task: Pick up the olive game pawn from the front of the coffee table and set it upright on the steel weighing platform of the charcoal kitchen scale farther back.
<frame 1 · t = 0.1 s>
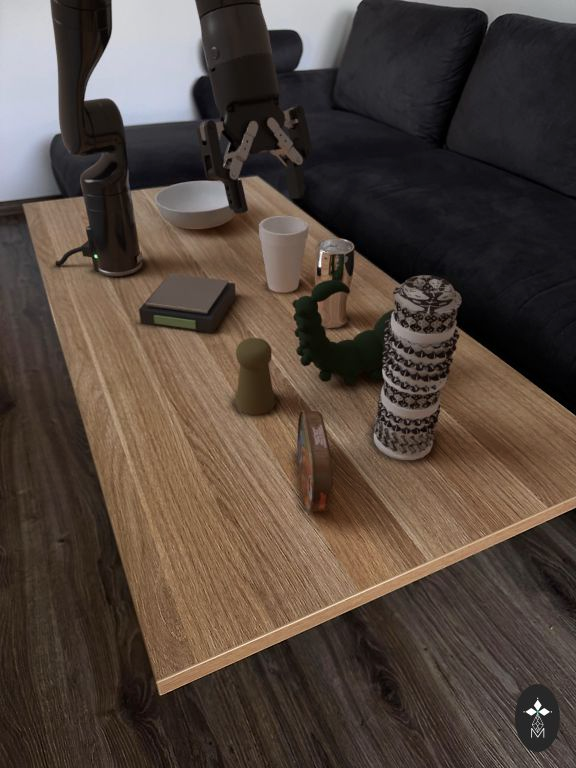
hand: (270, 205, 73), 31 cm above the table, tool tilted 20°, fingers open, 8 cm apart
foam cup: (283, 286, 122), on the table
tin: (312, 482, 79), on the table
scale platform: (188, 293, 112), point 4 cm above the table, slide at 0.0 cm
olive game pawn: (255, 403, 92), on the table
scale: (190, 309, 114), on the table
serving bowl: (200, 222, 148), on the table
white patterned cylinder: (402, 440, 85), on the table
toy figurine: (367, 373, 98), on the table
shiny silver cylinder: (330, 320, 111), on the table
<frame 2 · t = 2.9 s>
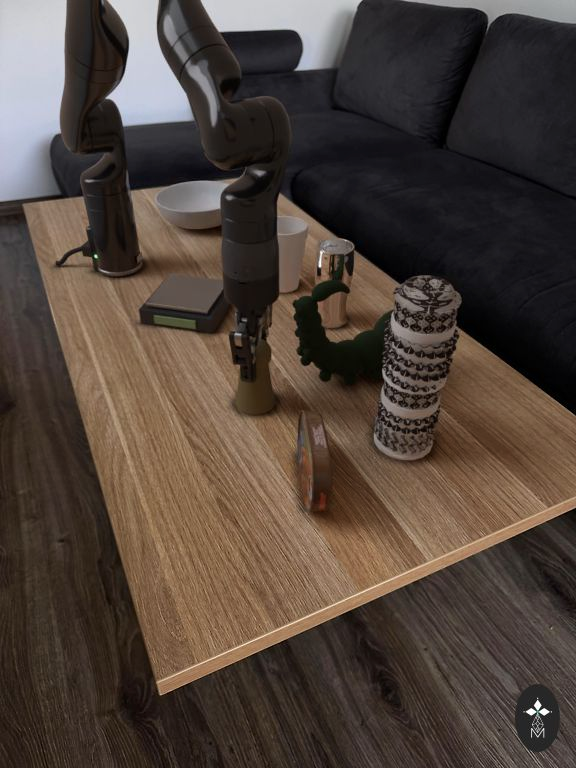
hand: (254, 368, 88), 6 cm above the table, tool pointing down, fingers closed on olive game pawn, 5 cm apart
olive game pawn: (255, 403, 92), on the table, touching gripper
everything else where it was.
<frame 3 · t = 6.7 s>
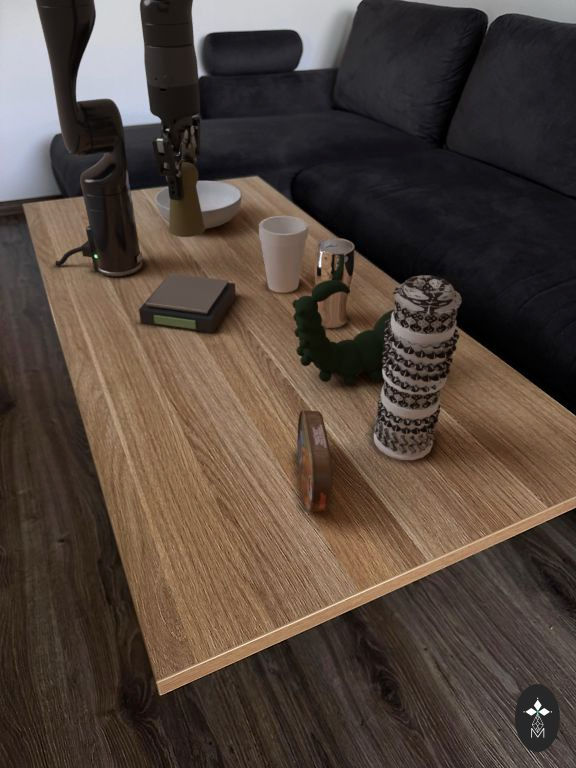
hand: (183, 192, 97), 24 cm above the table, tool pointing down, fingers closed on olive game pawn, 5 cm apart
olive game pawn: (187, 230, 101), point 17 cm above the table, touching gripper
everything else where it was.
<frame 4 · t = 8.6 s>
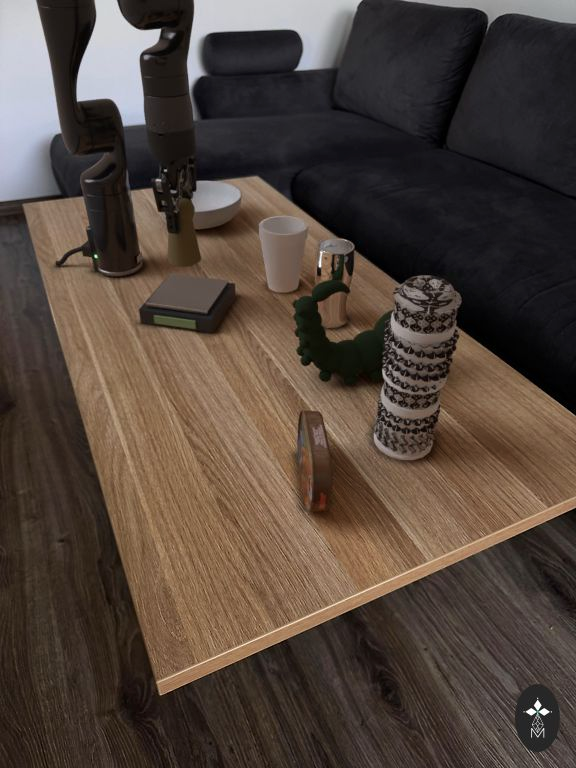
hand: (180, 225, 104), 17 cm above the table, tool pointing down, fingers closed on olive game pawn, 5 cm apart
olive game pawn: (184, 260, 108), point 10 cm above the table, touching gripper
everything else where it was.
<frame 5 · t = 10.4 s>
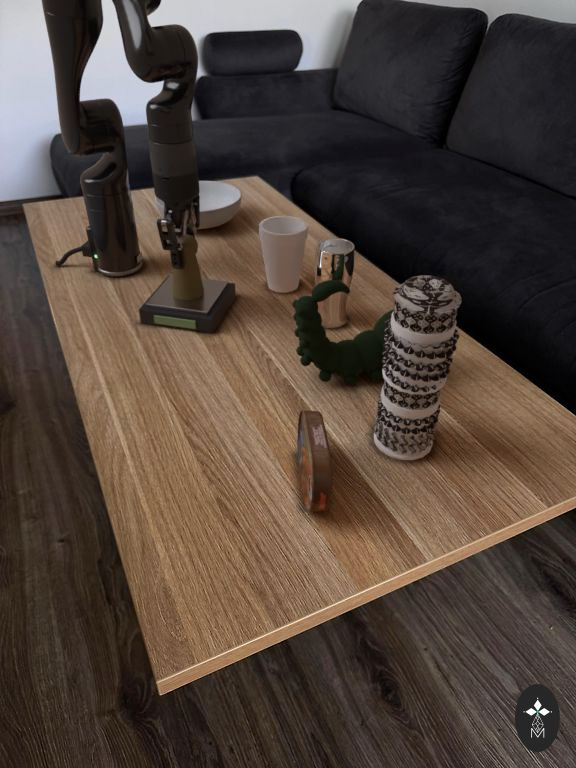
hand: (184, 260, 108), 10 cm above the table, tool pointing down, fingers closed on olive game pawn, 5 cm apart
scale platform: (188, 294, 112), point 3 cm above the table, slide at -0.2 cm, touching olive game pawn, scale
olive game pawn: (188, 293, 112), point 4 cm above the table, touching gripper, scale platform
everything else where it was.
when the fingers open (10 cm above the table, at t = 10.6 s): olive game pawn stays where it is, resting on scale platform.
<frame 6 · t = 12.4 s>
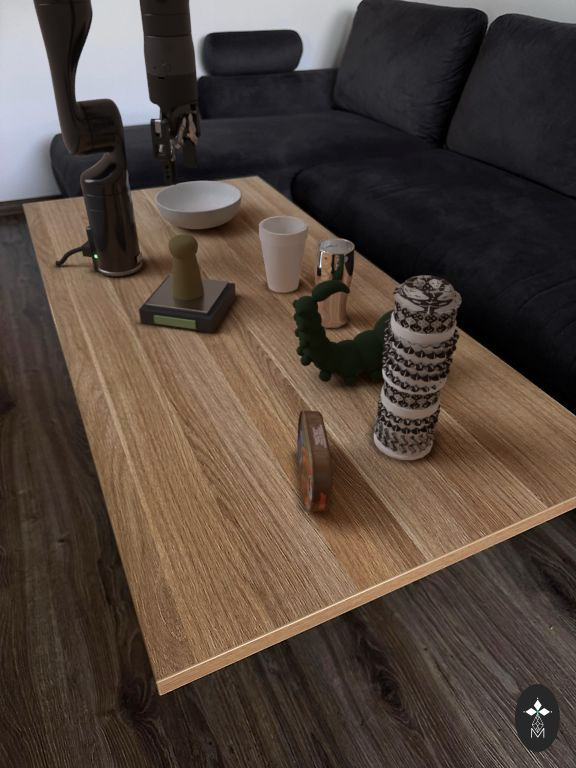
hand: (181, 175, 99), 25 cm above the table, tool pointing down, fingers open, 8 cm apart
olive game pawn: (188, 293, 112), point 4 cm above the table, touching scale platform
everything else where it was.
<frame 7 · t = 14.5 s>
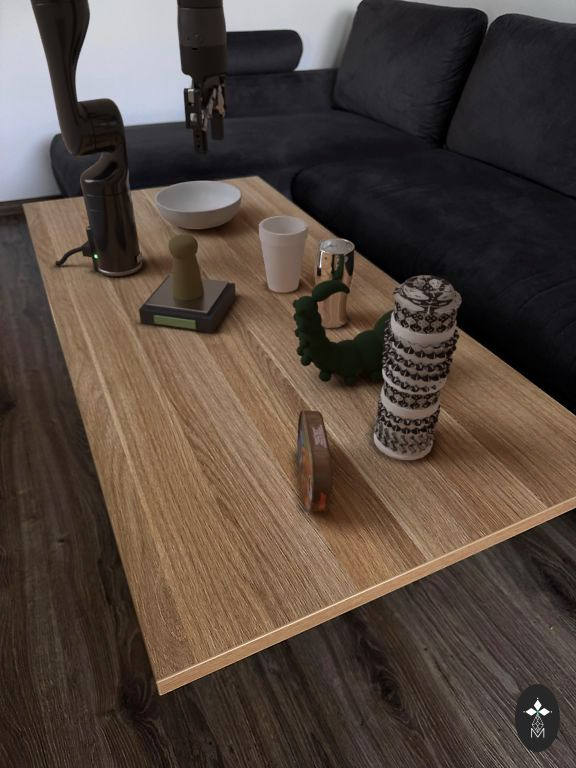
hand: (210, 146, 103), 28 cm above the table, tool pointing down, fingers open, 8 cm apart
nothing on the table moved.
at the end: olive game pawn inside the target area on the scale (0.0 cm from its centre), point 3.6 cm above the scale's base; olive game pawn tilted 0°; the gripper is holding nothing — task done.
